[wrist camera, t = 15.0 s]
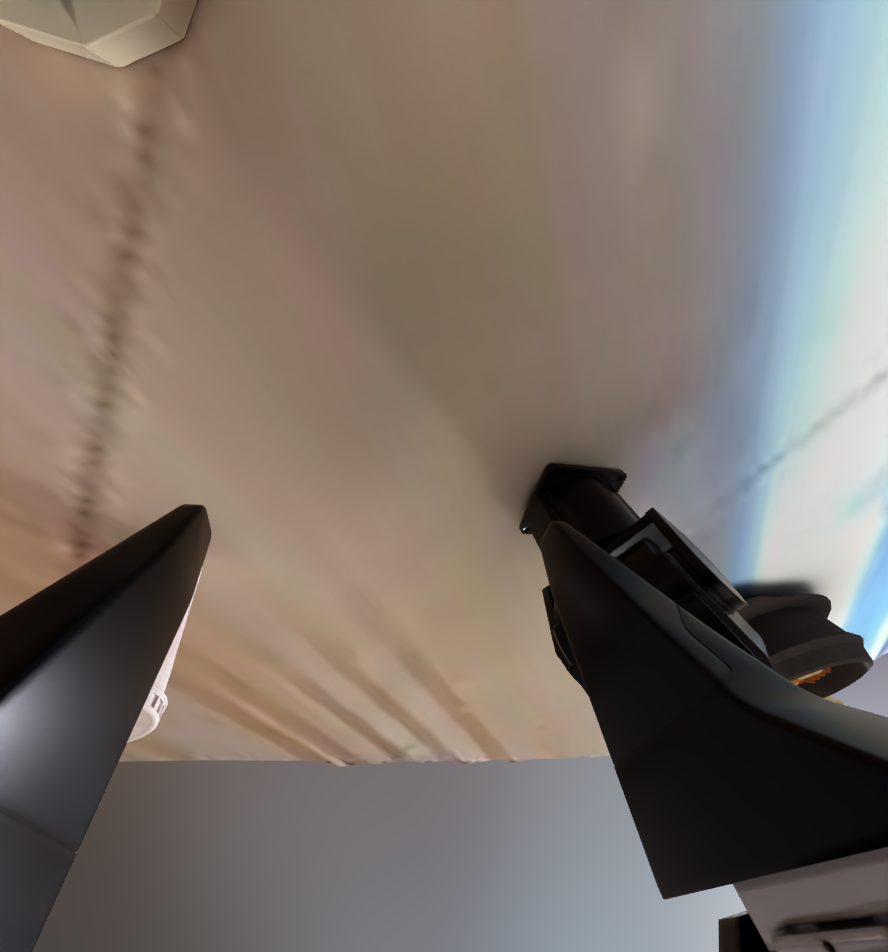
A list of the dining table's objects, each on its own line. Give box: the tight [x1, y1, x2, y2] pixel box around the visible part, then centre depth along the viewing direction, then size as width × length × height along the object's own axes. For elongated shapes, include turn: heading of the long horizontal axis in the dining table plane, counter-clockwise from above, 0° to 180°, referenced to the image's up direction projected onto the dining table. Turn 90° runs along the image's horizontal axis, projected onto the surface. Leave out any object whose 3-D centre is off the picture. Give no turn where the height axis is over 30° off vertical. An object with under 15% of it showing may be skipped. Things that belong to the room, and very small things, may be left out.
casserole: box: [737, 594, 873, 698], centre depth 43 cm, size 25×19×8 cm
